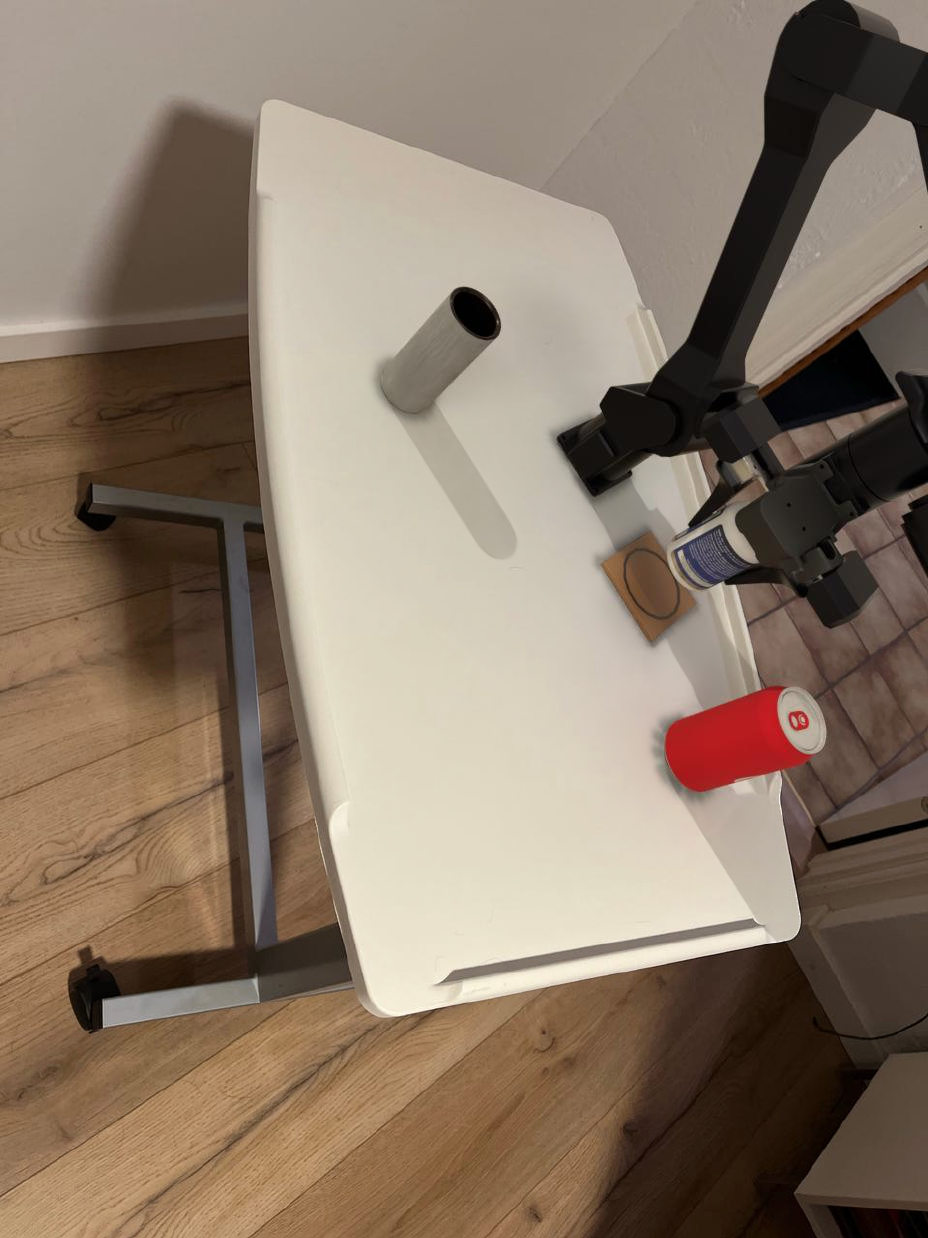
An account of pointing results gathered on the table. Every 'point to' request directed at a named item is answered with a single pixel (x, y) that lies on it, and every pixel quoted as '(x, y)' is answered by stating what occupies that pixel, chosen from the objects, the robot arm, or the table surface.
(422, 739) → the table surface
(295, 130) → the table surface
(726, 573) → the pill bottle
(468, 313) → the grey hollow cylinder
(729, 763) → the beverage can
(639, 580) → the square brown coaster
